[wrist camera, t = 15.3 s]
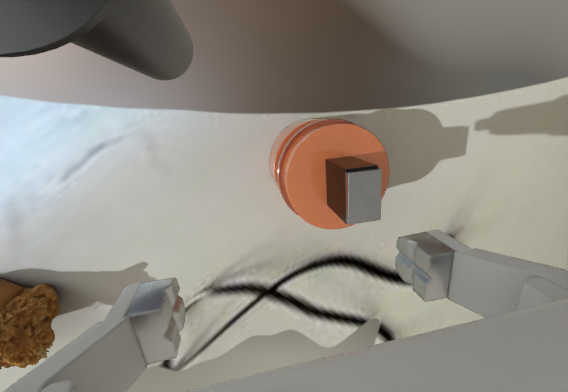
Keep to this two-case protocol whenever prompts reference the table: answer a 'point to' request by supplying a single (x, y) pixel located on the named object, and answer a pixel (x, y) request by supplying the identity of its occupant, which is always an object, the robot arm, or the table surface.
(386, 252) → the table surface
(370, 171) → the black block
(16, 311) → the stuffed squirrel
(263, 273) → the table surface
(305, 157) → the orange short cylinder
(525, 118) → the table surface
